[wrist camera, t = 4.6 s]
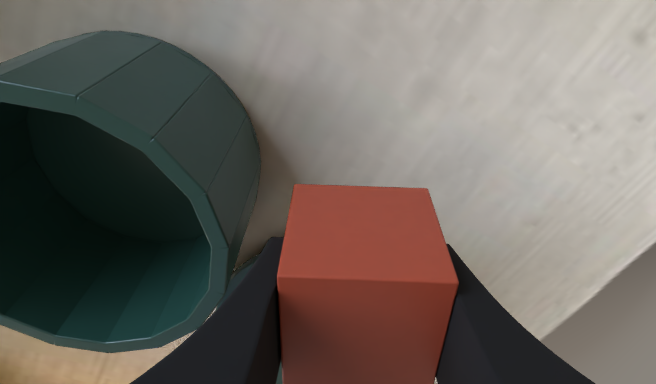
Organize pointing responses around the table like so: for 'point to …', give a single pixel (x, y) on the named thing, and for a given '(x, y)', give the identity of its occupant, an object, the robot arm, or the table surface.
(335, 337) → the block
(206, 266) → the green pot
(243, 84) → the table surface
